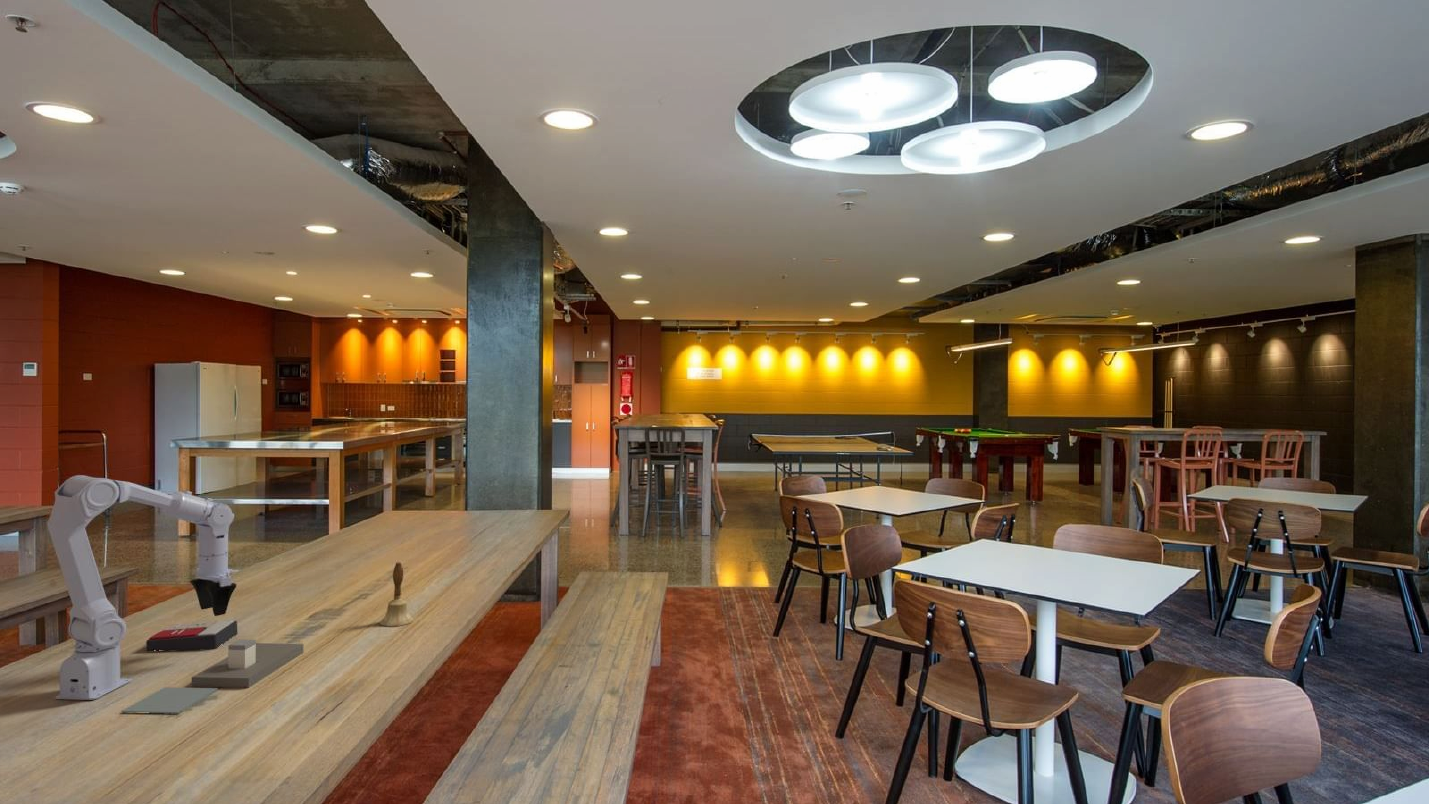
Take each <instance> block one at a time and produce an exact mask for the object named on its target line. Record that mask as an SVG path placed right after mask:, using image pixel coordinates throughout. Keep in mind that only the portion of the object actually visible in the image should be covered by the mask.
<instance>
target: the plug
mask: <svg viewBox="0 0 1429 804" xmlns="http://www.w3.org/2000/svg"><path fill="white" fill-rule="evenodd" d="M256 641H257V640H256V639H246V638H245V639H243V638H242V639H241V638H239V639H237V640H235V641H233V642H232V643H230V644H228V645H227V646H228V650H227V652H228V656H227V657H228V668H233V669H246V668H248V667H249V666H251V665H253V664H254V663H256V643H257V642H256Z"/></svg>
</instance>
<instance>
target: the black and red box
mask: <svg viewBox="0 0 1429 804" xmlns="http://www.w3.org/2000/svg"><path fill="white" fill-rule="evenodd" d="M238 633H239V632H238V621H237V620H235V619H229V620H218V621H216V620H208V621H196V622H181V623H173V624H171V625H170V624H169V626H167V627H165V628H164V629H162V630H161V631H158V632H157V633H155V634H153V635H151V636H150V637H149V638H148V640H146V641H145V643H146V652H147V651H154V650H156V651H158V652H160V651H159V650H178V651H188V650H196V649H197V650H196V651H201V650H200V649H206V650H205V651H207V650H217V649H219V648H220V647H221V646H222V645H221V644H223V645H224V644H226V643H227V642H228V641H230V640H231V639H233V638H234V637H235V635H236V636H237V635H238ZM233 636H234V637H233ZM232 637H233V638H232ZM230 638H231V639H230ZM229 639H230V640H229ZM226 641H227V642H226ZM225 642H226V643H225ZM220 645H221V646H220ZM219 646H220V647H219ZM218 647H219V648H218Z"/></svg>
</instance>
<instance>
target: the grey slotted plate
mask: <svg viewBox="0 0 1429 804" xmlns="http://www.w3.org/2000/svg"><path fill="white" fill-rule="evenodd" d="M303 653H304V643H267V642H266V643H264V642H263V643H261V642H260V643H259V642H258V643H257V642H256V663H254V664H253V665H251V666H249V667H248V668H246V669H233V668H228V656H227V657H225V658H222V660H220V661H218V662H217V663H214V664H212V665H211V666H209V667H207V668H206V669H204V670H202V671H200V672H198V673H196V674H195V675H192V676H191V687H192V686H197V687H196V688H236V687H246V688H247V689H248V688H250V686H251V687H253V686H254V685H256V684H257V683H258V682H259V680H260V681H261V679H262V678H263V679H264V677H265V678H266V677H268V676H269V675H271V674H272V673H274V672H276V671H277V670H279V669H280V668H282V667H283V666H285V665H286V664H288V663H289V662H290V661H292V660H294V659H296V658H298V657H299V656H300V655H301V654H303ZM276 669H277V670H276ZM263 679H262V680H263ZM246 688H245V689H246Z"/></svg>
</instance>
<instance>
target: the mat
mask: <svg viewBox="0 0 1429 804" xmlns="http://www.w3.org/2000/svg"><path fill="white" fill-rule="evenodd" d="M218 688H219V687H174V686H173V687H170V686H169V687H167V686H166V687H165V686H164V687H163V688H160V689H159V690H157V691H155V692H153V693H151V694H150V695H148V696H146V697H144V698H143V699H141V700H139V701H137V702H136V703H133V704H132V705H129V706H128V707H127V708H124V709H123V710H121V711H120V713H121V712H149V713H164V714H163V715H179V714H178V713H179V712H181V711H183V712H184V711H186V710H188V709H190V708H191V707H193V706H194V705H196V704H198V703H199V702H201V701H202V700H204V699H206V698H207V697H209V696H211V695H212V694H214V693H216V692H217V691H218ZM197 702H198V703H197ZM195 703H196V704H195ZM192 705H193V706H192ZM190 706H191V707H190ZM187 708H188V709H187ZM169 713H171V714H169ZM181 713H182V712H181Z"/></svg>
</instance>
